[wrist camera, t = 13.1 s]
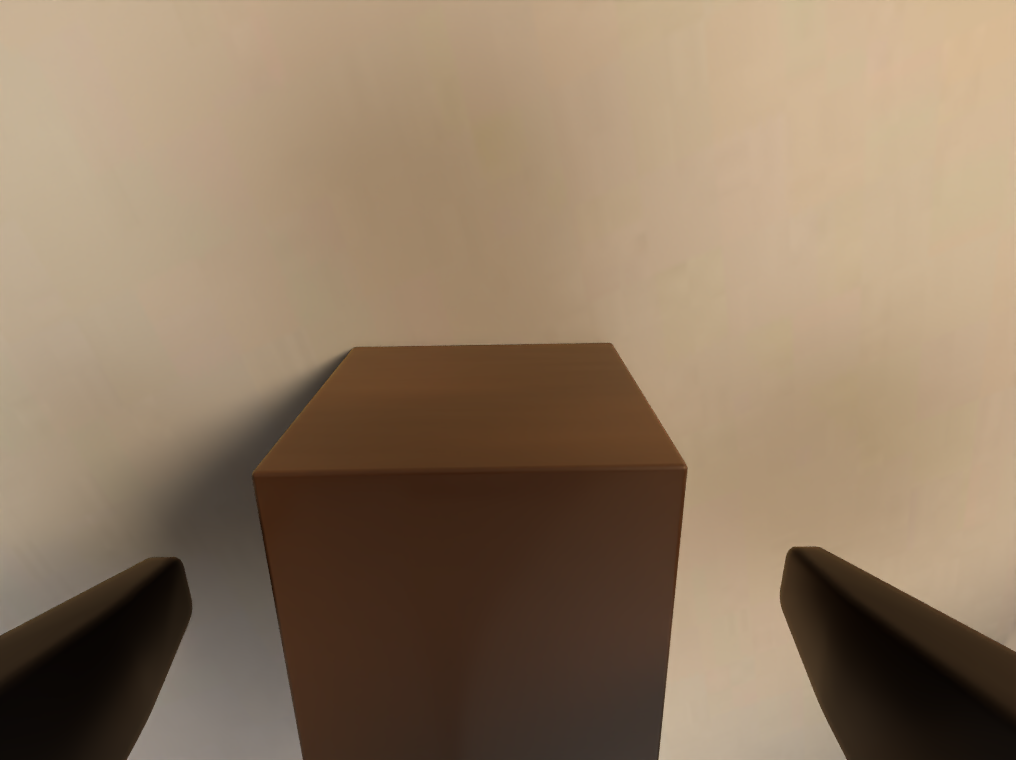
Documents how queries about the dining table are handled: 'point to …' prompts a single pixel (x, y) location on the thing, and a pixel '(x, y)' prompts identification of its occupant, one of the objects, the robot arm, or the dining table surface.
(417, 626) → the walnut block
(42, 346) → the dining table surface
